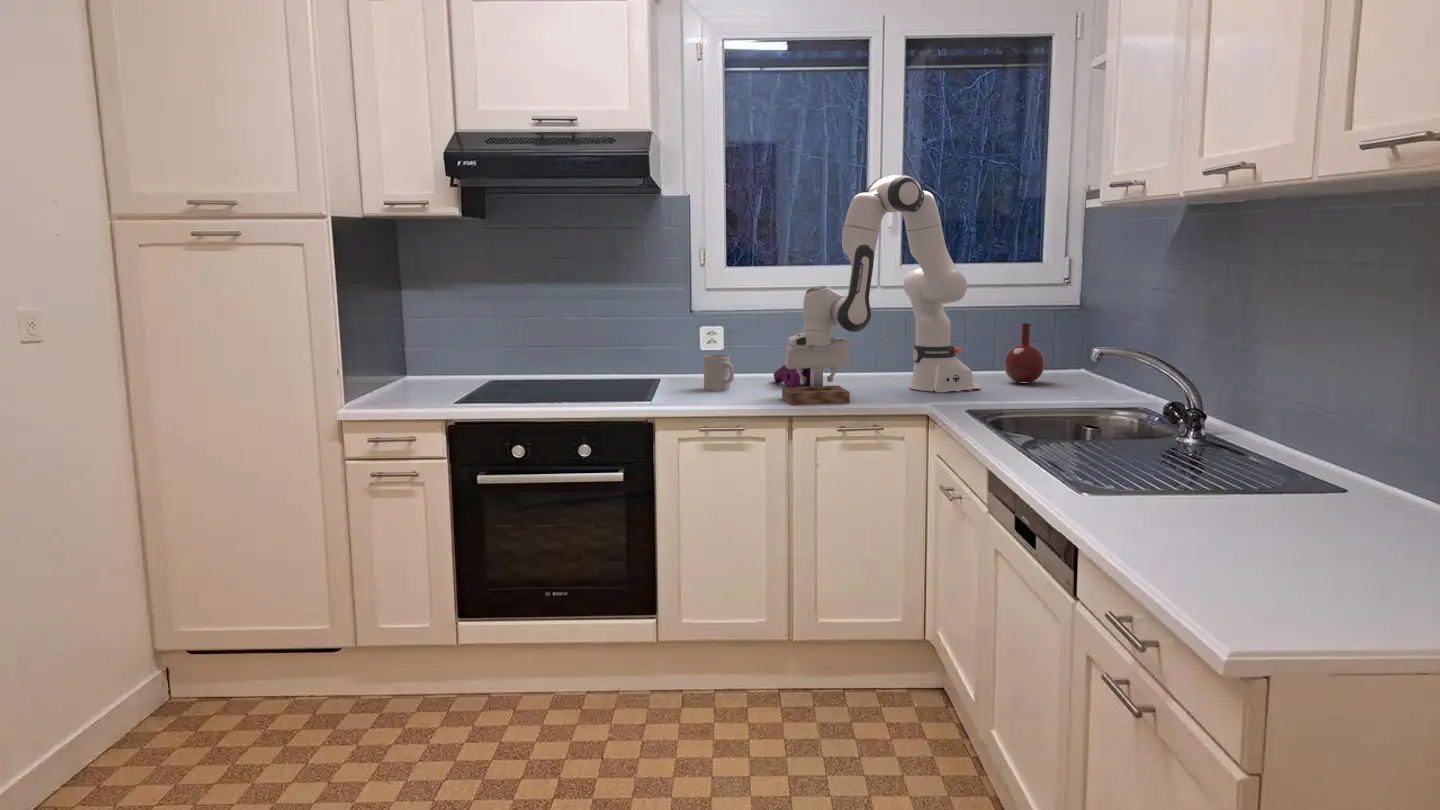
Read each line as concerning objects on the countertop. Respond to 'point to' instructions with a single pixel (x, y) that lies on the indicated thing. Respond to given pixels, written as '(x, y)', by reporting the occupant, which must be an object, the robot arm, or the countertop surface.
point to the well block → (815, 395)
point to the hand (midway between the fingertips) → (816, 382)
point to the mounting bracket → (792, 376)
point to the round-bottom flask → (1024, 360)
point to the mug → (717, 372)
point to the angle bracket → (816, 377)
